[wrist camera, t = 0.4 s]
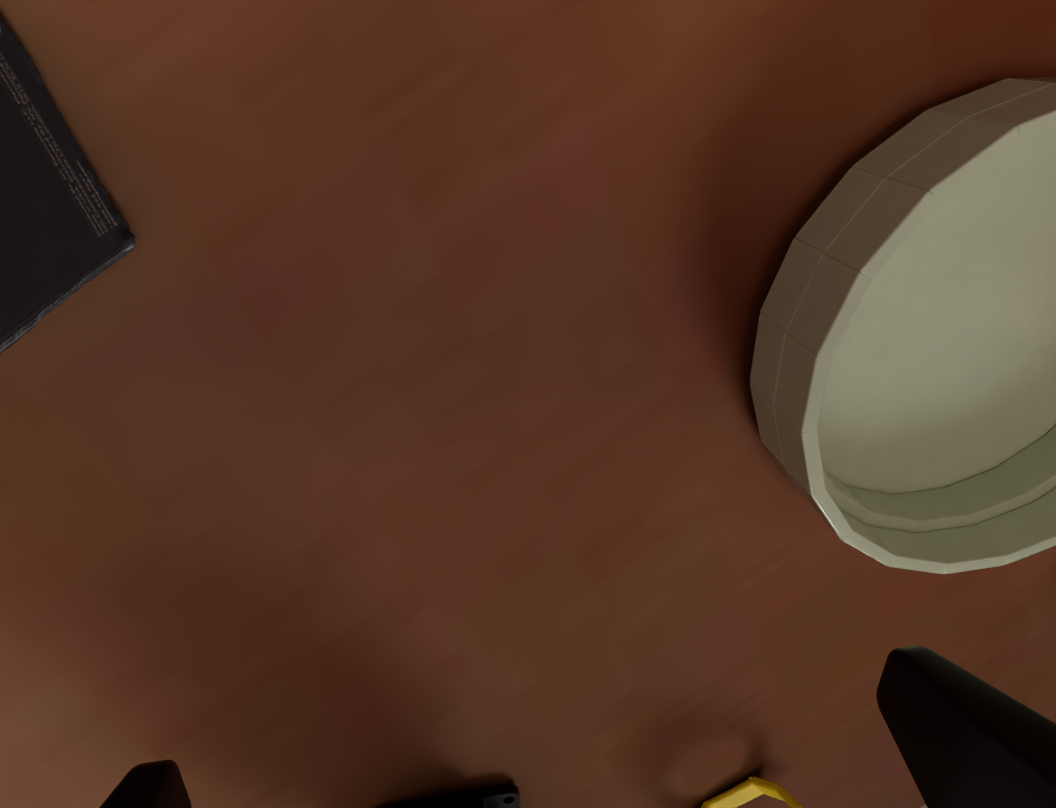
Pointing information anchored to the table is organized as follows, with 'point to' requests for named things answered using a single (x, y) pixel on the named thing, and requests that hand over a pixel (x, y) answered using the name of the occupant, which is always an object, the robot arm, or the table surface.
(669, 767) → the table surface
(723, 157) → the table surface
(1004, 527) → the bowl
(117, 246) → the small box
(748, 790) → the watch
